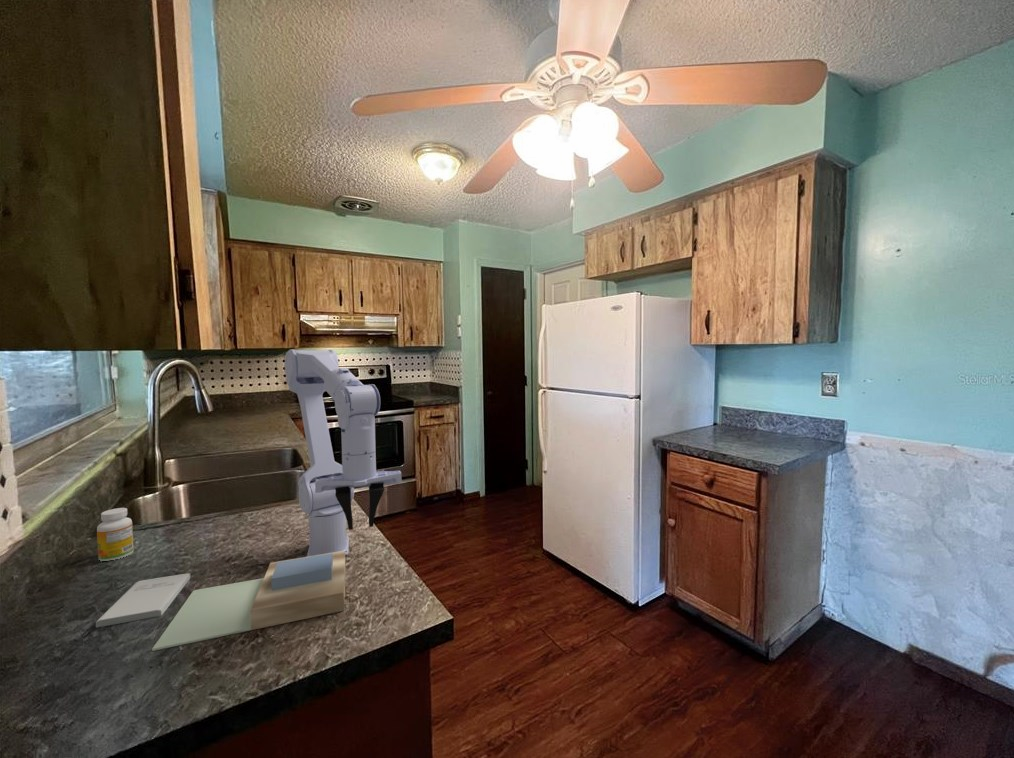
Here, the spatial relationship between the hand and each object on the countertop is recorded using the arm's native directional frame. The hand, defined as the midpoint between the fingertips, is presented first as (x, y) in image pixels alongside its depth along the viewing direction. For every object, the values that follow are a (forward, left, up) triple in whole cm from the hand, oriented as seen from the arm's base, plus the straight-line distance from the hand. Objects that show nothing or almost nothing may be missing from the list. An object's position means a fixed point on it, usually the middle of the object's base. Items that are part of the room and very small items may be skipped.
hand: (361, 526), depth 74 cm
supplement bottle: (-31, -49, -11) cm, 59 cm away
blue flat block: (0, -10, -7) cm, 12 cm away
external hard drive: (-8, -34, -11) cm, 37 cm away
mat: (0, -22, -10) cm, 24 cm away
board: (0, -10, -10) cm, 14 cm away
